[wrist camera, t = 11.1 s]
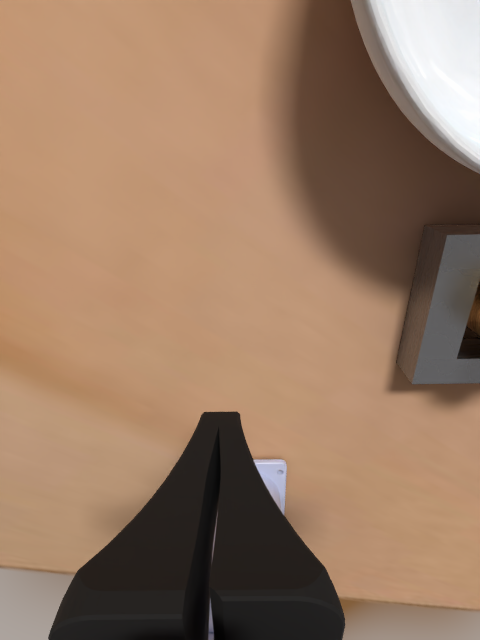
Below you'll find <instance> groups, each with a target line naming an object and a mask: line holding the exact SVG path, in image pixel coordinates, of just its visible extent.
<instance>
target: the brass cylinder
mask: <svg viewBox="0 0 480 640" xmlns="http://www.w3.org/2000/svg"><path fill="white" fill-rule="evenodd" d="M466 326H467V327H469V328H470V329H471V330H472V331H474V332H475V333H476V334H477V335H478V336H480V281H479V284H478V287H477V291H476V294H475V298H474V301H473V305H472V308H471V311H470V315H469V318H468V322H467V325H466Z"/></svg>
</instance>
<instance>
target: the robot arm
mask: <svg viewBox="0 0 480 640" xmlns="http://www.w3.org/2000/svg"><path fill="white" fill-rule="evenodd" d="M279 470H280V471H279ZM286 472H287V465H286V462H285V461H284V460H281V459H267V460H253V458H252V456H251V453H250V451H249V448H248V445H247V443H246V440H245V437H244V433H243V430H242V426H241V420H240V414H239V413H238V412H204V413H203V414H202V415H201V418H200V421H199V423H198V425H197V427H196V430H195V432H194V434H193V436H192V438H191V439H190V441H189V443H188V445H187V447H186V448H185V450H184V452H183V454H182V455H181V457H180V459H179V460H178V462H177V463H176V465H175V466H174V468H173V469H172V471H171V472H170V474H169V475H168V477H167V478H166V480H165V481H164V482H163V484H162V485H161V486H160V488H159V489H158V490H157V492H156V493H155V494H154V495H153V497H152V498H151V499H150V500H149V501H148V503H147V504H146V505H145V506H144V507H143V509H142V510H141V511H140V512H139V513H138V514H137V515H136V516H135V518H134V519H133V520H132V521H131V522H130V523H129V524H128V525H127V526H126V527H125V528H124V529H123V530H122V531H121V532H120V533H119V534H118V535H117V536H116V537H115V538H114V539H113V540H112V541H111V542H110V543H109V544H108V545H107V546H105V547H104V548H103V549H102V550H101V551H100V552H99V553H98V554H96V555H95V556H94V557H93V558H92V559H91V560H89V561H88V562H87V563H86V564H85V565H84V566H83V567H81V568H80V569H79V570H78V571H77V573H76V575H75V576H74V578H73V580H72V582H71V584H70V586H69V588H68V590H67V592H66V594H65V596H64V598H63V600H62V602H61V604H60V607H59V610H58V612H57V615H56V618H55V620H54V623H53V625H52V628H51V631H50V634H49V637H48V639H49V640H342V638H343V633H344V628H345V618H344V613H343V610H342V607H341V604H340V601H339V598H338V595H337V593H336V590H335V588H334V586H333V583H332V581H331V579H330V577H329V575H328V573H327V570H326V568H325V567H324V566H323V565H322V563H321V562H320V561H319V560H318V559H317V558H316V557H315V555H314V554H313V553H312V552H311V551H310V549H309V548H308V547H307V546H306V545H305V543H304V542H303V541H302V539H301V538H300V537H299V536H298V534H297V533H296V532H295V530H294V529H293V528H292V526H291V525H290V523H289V522H288V520H287V519H286V517H285V516H284V509H285V490H286Z"/></svg>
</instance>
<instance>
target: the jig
mask: <svg viewBox="0 0 480 640" xmlns="http://www.w3.org/2000/svg"><path fill="white" fill-rule="evenodd" d="M479 281H480V224H457V225H425V226H424V231H423V236H422V241H421V246H420V251H419V255H418V260H417V265H416V270H415V275H414V280H413V285H412V289H411V294H410V299H409V304H408V309H407V314H406V319H405V323H404V328H403V333H402V338H401V343H400V348H399V352H398V357H397V364H398V365H399V367H400V368H401V369H402V371H403V372H404V374H405V375H406V377H407V378H408V379H409V381H410V382H411V384H458V383H480V338H463V335H464V332H465V328H466V325H467V322H468V318H469V315H470V311H471V308H472V305H473V301H474V298H475V294H476V291H477V287H478V284H479Z"/></svg>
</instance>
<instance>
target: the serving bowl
mask: <svg viewBox="0 0 480 640" xmlns="http://www.w3.org/2000/svg"><path fill="white" fill-rule="evenodd" d="M351 3H352V7H353V11H354V15H355V19H356V22H357V25H358V28H359V31H360V33H361V36H362V39H363V42H364V45H365V47H366V50H367V52H368V54H369V56H370V59H371V61H372V63H373V66H374V68H375V70H376V71H377V73H378V75H379V77H380V79H381V81H382V82H383V84H384V86H385V88H386V89H387V91H388V93H389V94H390V96H391V97H392V99H393V100H394V101H395V103H396V104H397V106H398V107H399V109H400V110H401V111H402V113H403V114H404V115H405V116H406V117H407V118H408V120H409V121H410V122H411V123H412V124H413V125H414V126H415V127H416V128H417V129H418V130H419V131H420V132H421V133H422V134H423V136H425V137H426V138H427V139H428V140H429V141H430V142H431V143H433V144H434V145H435V146H436V147H437V148H439V149H440V150H441V151H443V152H444V153H445V154H447V155H448V156H450V157H451V158H453V159H454V160H456V161H457V162H459V163H460V164H462V165H464V166H466V167H468V168H469V169H471V170H473V171H475V172H477V173H479V174H480V0H351Z"/></svg>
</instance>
